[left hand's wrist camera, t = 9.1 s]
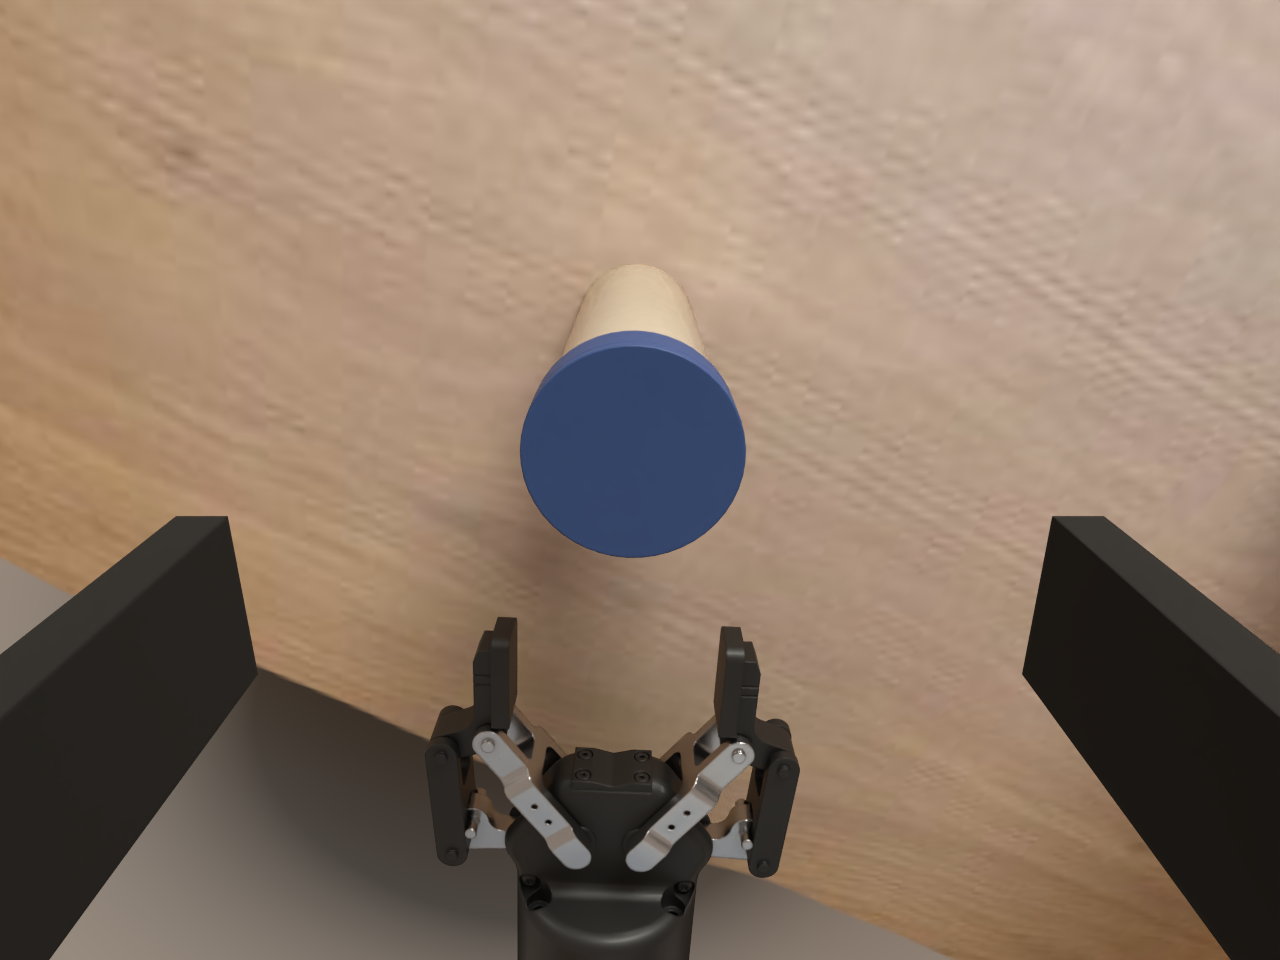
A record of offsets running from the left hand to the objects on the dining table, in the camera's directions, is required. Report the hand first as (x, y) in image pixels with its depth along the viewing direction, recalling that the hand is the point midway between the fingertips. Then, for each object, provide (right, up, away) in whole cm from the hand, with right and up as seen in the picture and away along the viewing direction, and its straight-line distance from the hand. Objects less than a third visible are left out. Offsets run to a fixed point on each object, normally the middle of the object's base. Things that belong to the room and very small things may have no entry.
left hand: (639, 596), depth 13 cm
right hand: (-1, -4, +19) cm, 19 cm away
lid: (0, +2, +7) cm, 7 cm away
